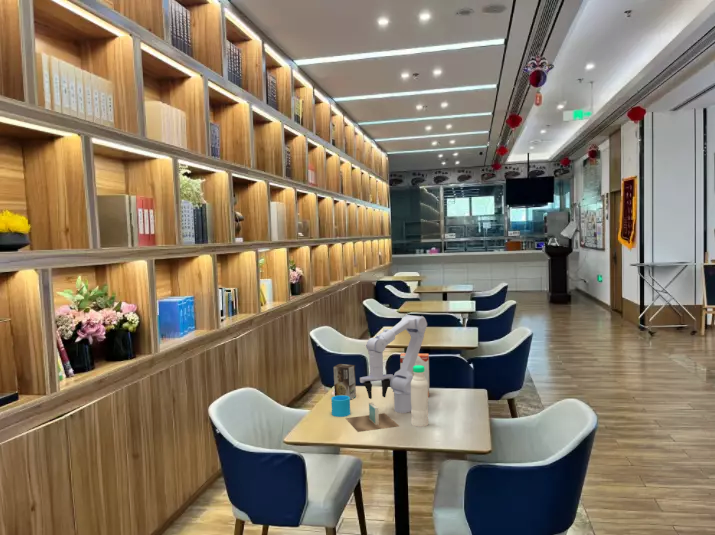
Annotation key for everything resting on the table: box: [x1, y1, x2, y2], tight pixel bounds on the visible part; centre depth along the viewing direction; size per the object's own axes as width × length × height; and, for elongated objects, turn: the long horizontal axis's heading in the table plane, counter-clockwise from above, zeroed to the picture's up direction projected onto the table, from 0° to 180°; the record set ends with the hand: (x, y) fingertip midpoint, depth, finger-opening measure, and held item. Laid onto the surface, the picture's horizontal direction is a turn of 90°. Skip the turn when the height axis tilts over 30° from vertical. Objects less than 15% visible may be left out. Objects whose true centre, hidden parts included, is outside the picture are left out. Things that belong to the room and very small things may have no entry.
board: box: [345, 412, 400, 433], centre depth 220 cm, size 18×18×1 cm
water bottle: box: [410, 365, 430, 427], centre depth 216 cm, size 7×7×25 cm
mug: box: [330, 395, 351, 418], centre depth 234 cm, size 12×8×8 cm
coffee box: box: [333, 363, 357, 401], centre depth 260 cm, size 9×6×16 cm
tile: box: [368, 402, 380, 425], centre depth 220 cm, size 2×8×7 cm, turn 17°
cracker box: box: [399, 352, 430, 398], centre depth 260 cm, size 14×6×21 cm, turn 81°
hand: (377, 397), depth 225 cm, fingers open, 6 cm apart
